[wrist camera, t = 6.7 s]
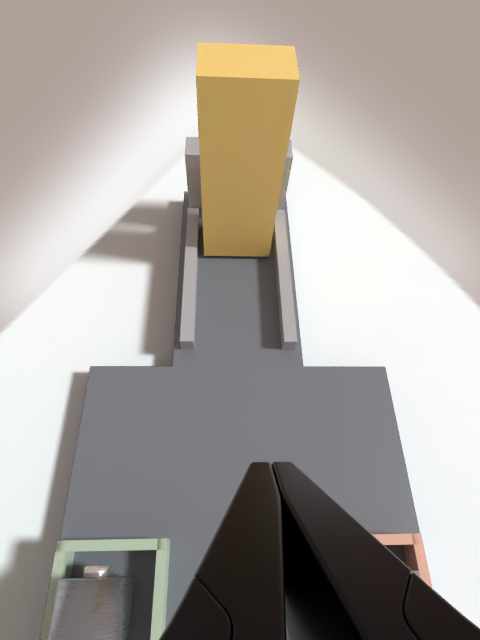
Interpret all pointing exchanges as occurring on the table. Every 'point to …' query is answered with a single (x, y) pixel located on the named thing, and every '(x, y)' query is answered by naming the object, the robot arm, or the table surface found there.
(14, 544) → the table surface
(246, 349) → the checker
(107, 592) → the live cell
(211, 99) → the tall mustard pillar
